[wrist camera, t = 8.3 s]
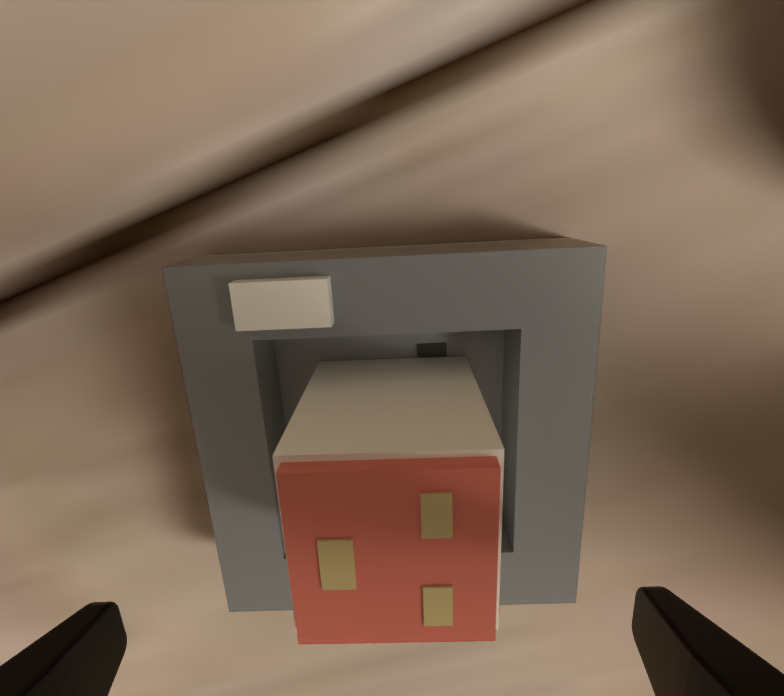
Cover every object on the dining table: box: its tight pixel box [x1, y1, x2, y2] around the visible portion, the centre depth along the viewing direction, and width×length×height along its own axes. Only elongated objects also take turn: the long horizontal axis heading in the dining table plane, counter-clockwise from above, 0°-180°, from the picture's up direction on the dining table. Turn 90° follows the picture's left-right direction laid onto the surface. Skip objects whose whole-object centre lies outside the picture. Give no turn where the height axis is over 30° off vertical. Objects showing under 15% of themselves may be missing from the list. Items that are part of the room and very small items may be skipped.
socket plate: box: [162, 237, 607, 612], centre depth 14 cm, size 11×11×3 cm
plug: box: [272, 356, 504, 644], centre depth 12 cm, size 4×4×6 cm
